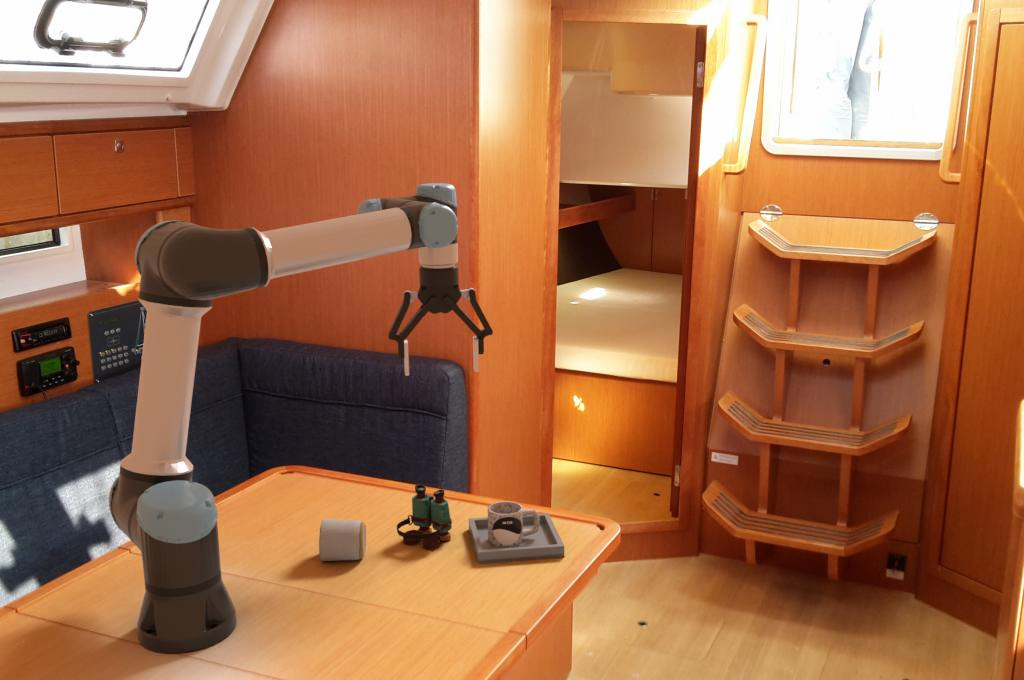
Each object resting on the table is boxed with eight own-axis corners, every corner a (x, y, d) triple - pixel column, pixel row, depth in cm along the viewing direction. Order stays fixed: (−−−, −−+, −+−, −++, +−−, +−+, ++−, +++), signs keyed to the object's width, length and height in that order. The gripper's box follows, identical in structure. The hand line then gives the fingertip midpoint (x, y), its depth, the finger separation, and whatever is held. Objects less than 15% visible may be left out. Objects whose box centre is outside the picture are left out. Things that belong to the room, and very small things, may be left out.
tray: (478, 563, 188) (478, 552, 188) (468, 529, 204) (468, 518, 203) (564, 557, 191) (564, 545, 190) (548, 523, 206) (548, 512, 206)
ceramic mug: (364, 566, 188) (362, 526, 186) (319, 567, 188) (317, 528, 186) (369, 543, 198) (367, 505, 197) (326, 544, 198) (324, 506, 196)
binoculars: (386, 500, 193) (418, 478, 201) (392, 550, 197) (423, 527, 205) (424, 509, 189) (455, 487, 197) (430, 560, 192) (460, 536, 200)
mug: (491, 549, 193) (491, 516, 191) (485, 535, 199) (484, 503, 198) (543, 544, 195) (543, 511, 193) (535, 530, 201) (535, 498, 200)
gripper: (500, 259, 203) (501, 364, 208) (372, 264, 199) (377, 370, 204) (505, 265, 196) (507, 373, 200) (373, 270, 192) (378, 380, 197)
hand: (441, 372), depth 202 cm, fingers open, 13 cm apart
